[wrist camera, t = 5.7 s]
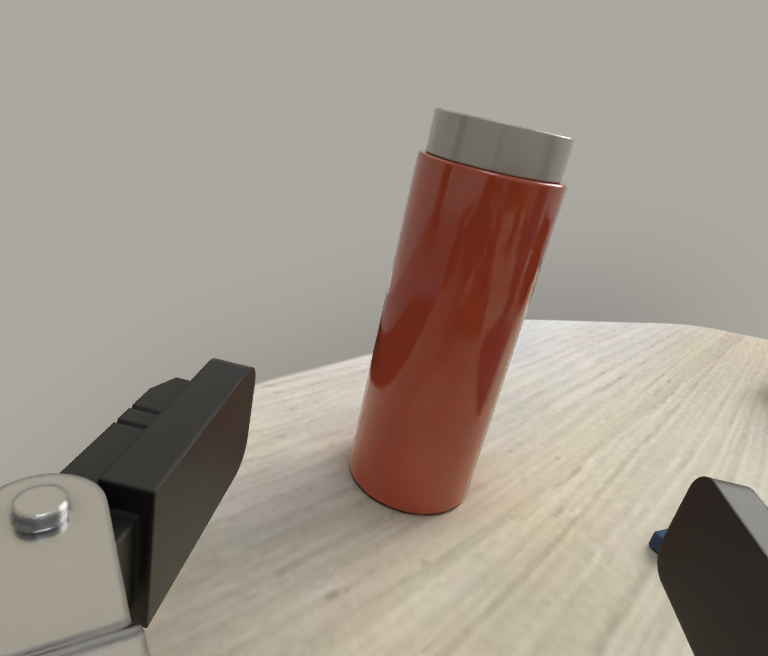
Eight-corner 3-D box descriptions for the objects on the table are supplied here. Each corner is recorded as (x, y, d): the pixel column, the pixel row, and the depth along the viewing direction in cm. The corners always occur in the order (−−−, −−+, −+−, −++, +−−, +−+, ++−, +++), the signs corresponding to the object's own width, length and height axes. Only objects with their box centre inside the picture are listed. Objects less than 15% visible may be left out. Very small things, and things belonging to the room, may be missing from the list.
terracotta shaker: (377, 524, 18) (482, 117, 13) (332, 440, 21) (402, 99, 16) (490, 505, 19) (617, 148, 15) (432, 432, 23) (519, 126, 18)
